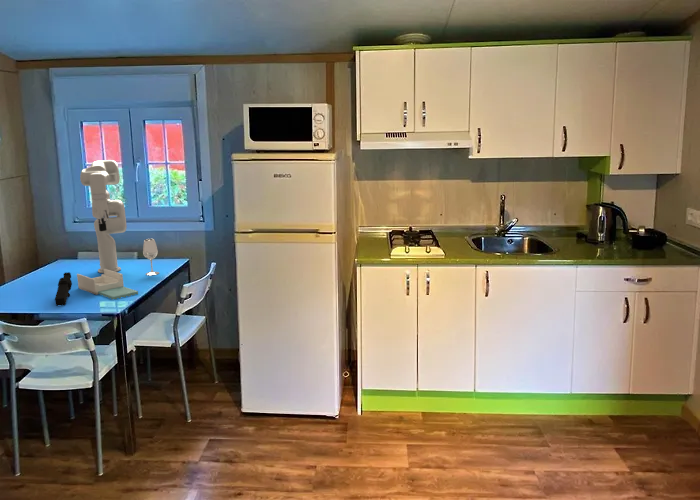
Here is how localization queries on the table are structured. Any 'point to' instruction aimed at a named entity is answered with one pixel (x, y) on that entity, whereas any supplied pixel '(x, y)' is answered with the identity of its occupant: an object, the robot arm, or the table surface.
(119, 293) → the lid
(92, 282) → the box
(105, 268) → the robot arm
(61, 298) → the toy gun
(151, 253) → the wineglass
